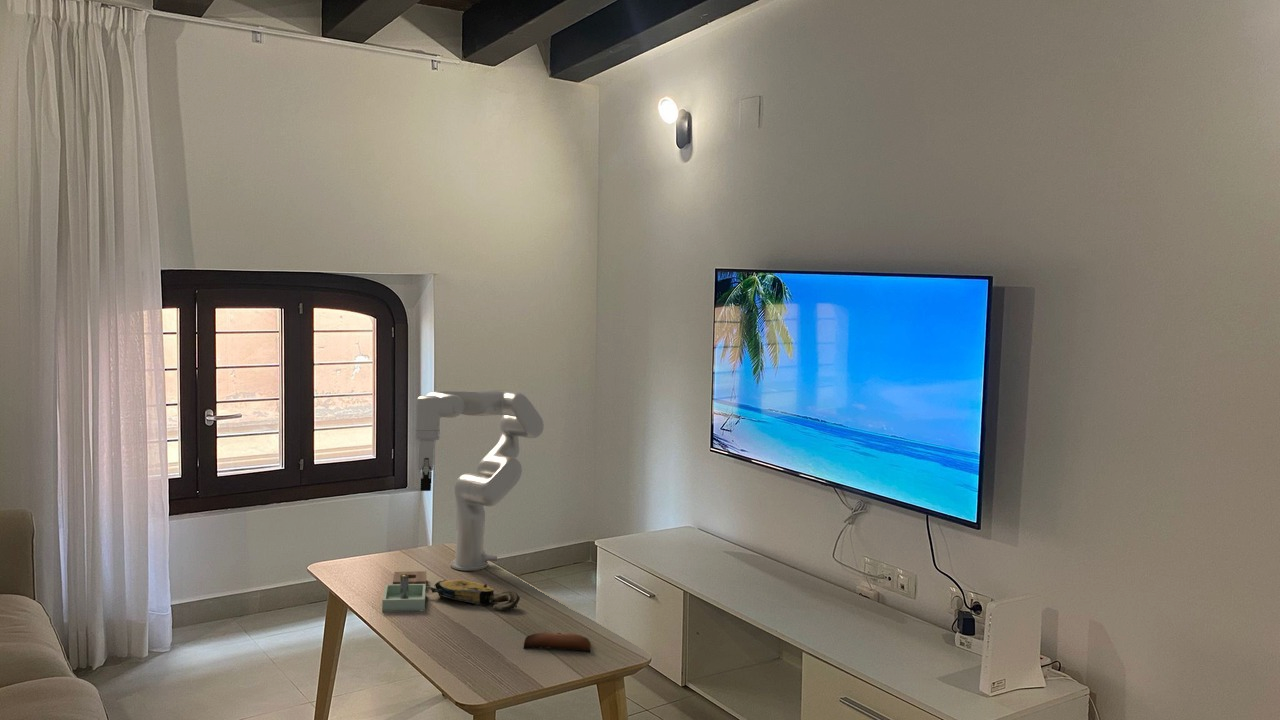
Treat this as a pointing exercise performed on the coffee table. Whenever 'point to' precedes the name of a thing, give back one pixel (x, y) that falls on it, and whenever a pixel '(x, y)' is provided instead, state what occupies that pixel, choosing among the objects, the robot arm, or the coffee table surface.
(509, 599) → the pulley block
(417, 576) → the block
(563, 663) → the coffee table surface
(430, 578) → the coffee table surface
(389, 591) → the tray
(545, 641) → the sunglasses case
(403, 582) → the pin
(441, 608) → the coffee table surface
